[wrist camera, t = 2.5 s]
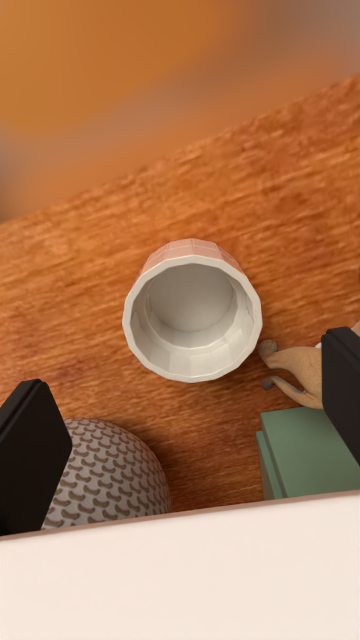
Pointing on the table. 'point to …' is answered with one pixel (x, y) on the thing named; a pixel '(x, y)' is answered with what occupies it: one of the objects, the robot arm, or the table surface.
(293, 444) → the stand
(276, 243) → the table surface
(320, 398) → the lion figurine
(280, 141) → the table surface
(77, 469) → the planter
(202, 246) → the bowl
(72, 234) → the table surface
